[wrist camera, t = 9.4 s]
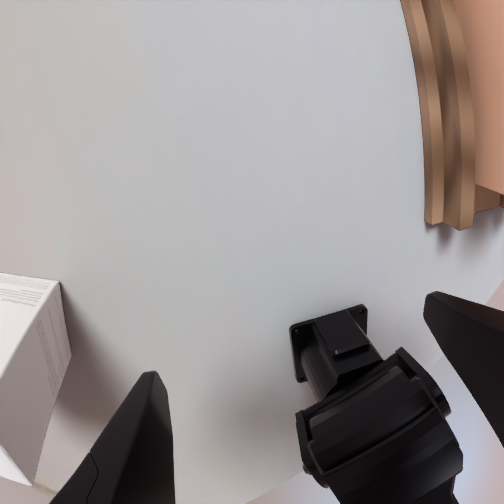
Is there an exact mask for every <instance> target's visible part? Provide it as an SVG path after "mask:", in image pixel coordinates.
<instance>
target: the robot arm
mask: <svg viewBox="0 0 504 504" xmlns="http://www.w3.org/2000/svg"><path fill="white" fill-rule="evenodd" d="M361 310H362V311H361ZM360 311H361V312H360ZM367 313H368V310H367V308H366V307H365V306H364V305H363V304H361V305H357V306H354V307H351V308H348V309H345V310H341V311H338V312H335V313H331V314H328V315H325V316H321V317H318V318H314V319H311V320H307V321H304V322H300V323H297V324H294V325H292V326H291V327H290V328H289V333H290V340H291V347H292V354H293V361H294V369H295V376H296V379H297V382H299V383H302V382H306V381H308V382H309V384H310V386H311V388H312V391H313V393H314V395H315V398H316V400H317V402H318V403H316V404H314V405H312V406H311V407H309V408H307V409H305V410H301V411H299V412H297V413H295V415H296V421H297V423H296V427H297V433H298V439H299V445H300V452H301V458H302V461H303V469H304V471H305V473H307V474H309V475H312V476H313V477H314V479H315V480H316V481H317V482H318V483H319V484H320V485H321V486H322V487H324V488H328V487H330V489H331V490H332V492H333V493H334V495H335V496H336V498H337V499H338V501H339V502H340V504H459V503H458V501H457V499H456V498H455V496H454V494H453V489H454V483H455V477H456V475H457V474H459V473H460V472H461V471H462V469H463V453H462V451H461V450H460V448H459V443H458V441H457V439H456V437H455V436H454V434H453V432H452V430H451V428H450V426H449V425H448V423H447V421H446V419H445V417H446V416H448V415H449V414H450V413H451V409H450V406H449V404H448V402H447V400H446V398H445V396H444V394H443V392H442V391H441V389H440V388H439V386H438V385H437V383H436V382H435V381H434V379H433V378H432V377H431V376H430V375H429V374H428V372H427V371H426V370H425V369H424V368H423V367H422V366H421V365H420V364H419V363H418V362H417V361H416V360H415V359H414V358H413V357H412V356H411V355H410V354H409V353H408V352H407V351H406V350H405V349H404V348H403V347H400V348H399V349H398V350H396V351H395V352H396V353H394V354H393V355H391V356H390V357H388V358H387V359H386V360H383V359H382V357H381V356H380V354H379V353H378V352H377V350H376V349H375V347H374V346H373V345H372V343H371V342H370V340H369V339H368V337H367ZM423 316H424V320H425V322H426V323H427V325H428V327H429V329H430V330H431V332H432V334H433V335H434V337H435V339H436V341H437V343H438V344H439V346H440V348H441V350H442V351H443V353H444V354H445V356H446V357H447V359H448V360H449V362H450V363H451V365H452V366H453V367H454V369H455V370H456V372H457V373H458V375H459V376H460V378H461V379H462V380H463V382H464V384H465V385H466V387H467V388H468V389H469V391H470V393H471V394H472V396H473V397H474V399H475V401H476V402H477V404H478V405H479V407H480V408H481V410H482V411H483V413H484V415H485V416H486V418H487V420H488V421H489V423H490V425H491V426H492V428H493V430H494V431H495V433H496V435H497V436H498V438H499V440H500V442H501V444H502V445H503V447H504V311H501V310H497V309H494V308H491V307H488V306H485V305H481V304H478V303H475V302H472V301H468V300H465V299H462V298H458V297H455V296H452V295H449V294H445V293H442V292H439V291H435V292H432V293H430V294H428V295H427V296H426V298H425V305H424V312H423ZM297 329H298V330H297ZM295 330H297V331H296V332H294V331H295ZM301 377H302V378H301ZM49 504H175V485H174V459H173V433H172V426H171V418H170V410H169V402H168V394H167V390H166V388H165V386H164V384H163V382H162V380H161V378H160V376H159V374H158V373H157V372H156V371H149V372H144V373H143V374H142V375H141V376H140V378H139V379H138V381H137V382H136V384H135V385H134V386H133V388H132V389H131V391H130V392H129V394H128V395H127V397H126V398H125V400H124V401H123V402H122V404H121V405H120V407H119V408H118V410H117V411H116V413H115V414H114V416H113V417H112V419H111V420H110V421H109V423H108V424H107V426H106V427H105V429H104V430H103V432H102V433H101V435H100V436H99V438H98V439H97V441H96V442H95V444H94V445H93V447H92V448H91V450H90V453H88V454H87V455H86V457H85V458H84V460H83V461H82V463H81V464H80V466H79V467H78V468H77V470H76V471H75V473H74V474H73V475H72V476H71V478H70V479H69V480H68V481H67V483H66V484H65V485H64V486H63V488H62V489H61V490H60V491H59V492H58V494H57V495H56V496H55V497H54V498H53V499H52V501H51V502H50V503H49Z"/></svg>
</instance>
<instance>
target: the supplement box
mask: <svg viewBox="0 0 504 504" xmlns="http://www.w3.org/2000/svg"><path fill="white" fill-rule="evenodd" d="M71 357H72V354H71V350H70V344H69V340H68V335H67V329H66V324H65V318H64V312H63V306H62V300H61V293H60V285H59V282H58V281H54V280H47V279H40V278H32V277H26V276H19V275H12V274H5V273H0V476H2V477H4V478H7V479H11V480H13V481H17V482H20V483H22V484H26V485H29V486H33V484H34V479H35V475H36V471H37V467H38V463H39V459H40V455H41V451H42V447H43V443H44V439H45V436H46V432H47V428H48V425H49V421H50V418H51V414H52V411H53V408H54V405H55V402H56V399H57V395H58V392H59V389H60V386H61V383H62V381H63V378H64V375H65V373H66V370H67V367H68V364H69V362H70V359H71Z"/></svg>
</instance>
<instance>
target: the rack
mask: <svg viewBox="0 0 504 504" xmlns="http://www.w3.org/2000/svg"><path fill="white" fill-rule="evenodd" d="M400 1H401V5H402V8H403V12H404V16H405V21H406V25H407V29H408V34H409V39H410V44H411V49H412V54H413V60H414V66H415V72H416V78H417V85H418V93H419V101H420V110H421V120H422V132H423V147H424V169H425V221H426V222H428V223H430V224H431V225H433V224H437V223H441V222H444V223H446V224H448V225H449V226H451V227H453V228H455V229H457V230H459V231H460V230H463V229H467V228H470V227H472V225H473V213H477V212H480V211H484V210H487V209H491V208H495V207H498V206H500V207H502V208H504V195H503V194H501V193H498V192H496V191H493V190H491V189H488V188H486V187H483V186H480V185H478V184H475V129H474V113H473V102H472V92H471V84H470V76H469V69H468V63H467V57H466V51H465V46H464V41H463V36H462V31H461V27H460V23H459V18H458V14H457V11H456V7H455V3H454V0H400Z"/></svg>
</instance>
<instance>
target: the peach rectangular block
mask: <svg viewBox="0 0 504 504" xmlns="http://www.w3.org/2000/svg"><path fill="white" fill-rule="evenodd" d="M454 3H455V7H456V11H457V14H458V18H459V23H460V27H461V31H462V36H463V41H464V46H465V51H466V57H467V63H468V69H469V76H470V84H471V92H472V102H473V113H474V129H475V184H478V185H480V186H483V187H486V188H488V189H491V190H493V191H496V192H498V193H501V194H503V195H504V0H454Z"/></svg>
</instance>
